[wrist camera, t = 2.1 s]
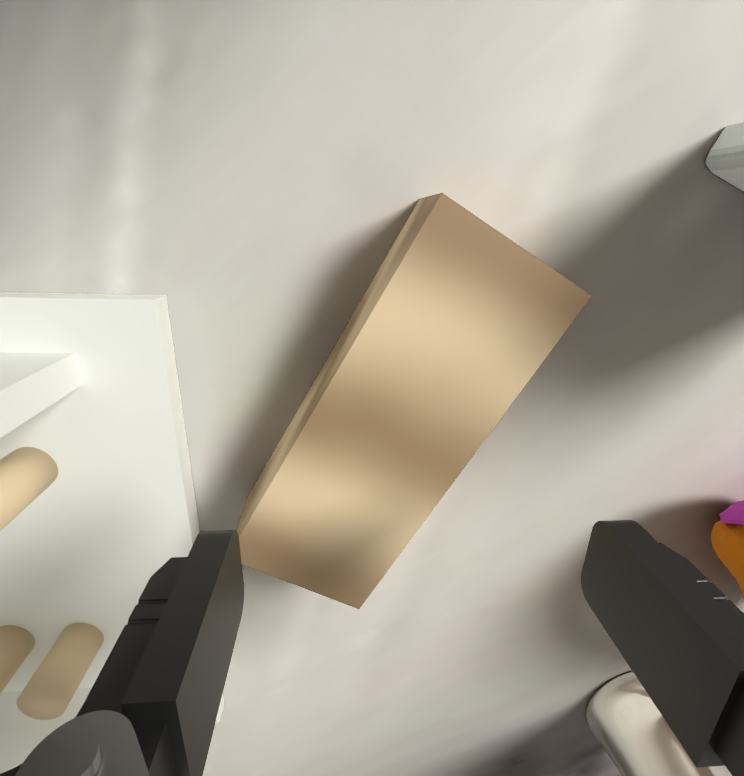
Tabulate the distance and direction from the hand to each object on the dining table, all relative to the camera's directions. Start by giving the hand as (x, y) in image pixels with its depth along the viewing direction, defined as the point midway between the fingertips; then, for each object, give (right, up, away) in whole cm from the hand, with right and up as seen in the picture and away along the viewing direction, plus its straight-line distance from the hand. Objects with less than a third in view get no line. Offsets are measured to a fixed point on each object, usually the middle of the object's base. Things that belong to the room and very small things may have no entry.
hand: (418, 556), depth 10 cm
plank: (-1, +4, +8) cm, 9 cm away
